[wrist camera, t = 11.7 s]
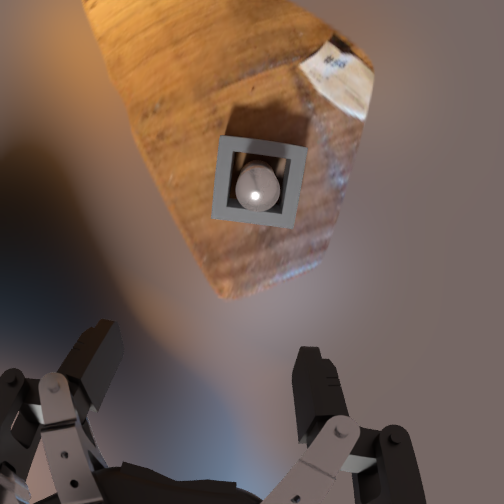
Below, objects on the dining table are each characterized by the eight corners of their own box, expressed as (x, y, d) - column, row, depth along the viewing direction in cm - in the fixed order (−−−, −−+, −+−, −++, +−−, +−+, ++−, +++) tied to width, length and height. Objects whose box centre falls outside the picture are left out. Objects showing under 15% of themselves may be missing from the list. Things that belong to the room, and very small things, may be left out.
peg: (242, 157, 31) (238, 166, 24) (276, 162, 31) (283, 172, 24) (238, 190, 33) (233, 208, 25) (271, 195, 33) (276, 214, 25)
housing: (224, 135, 30) (219, 135, 26) (301, 145, 30) (307, 147, 26) (216, 208, 33) (211, 218, 30) (288, 218, 34) (293, 229, 30)
